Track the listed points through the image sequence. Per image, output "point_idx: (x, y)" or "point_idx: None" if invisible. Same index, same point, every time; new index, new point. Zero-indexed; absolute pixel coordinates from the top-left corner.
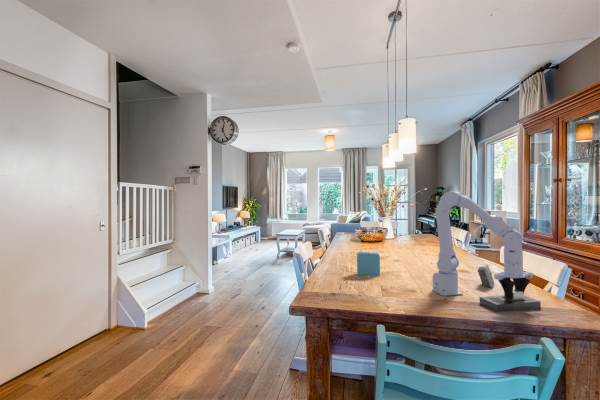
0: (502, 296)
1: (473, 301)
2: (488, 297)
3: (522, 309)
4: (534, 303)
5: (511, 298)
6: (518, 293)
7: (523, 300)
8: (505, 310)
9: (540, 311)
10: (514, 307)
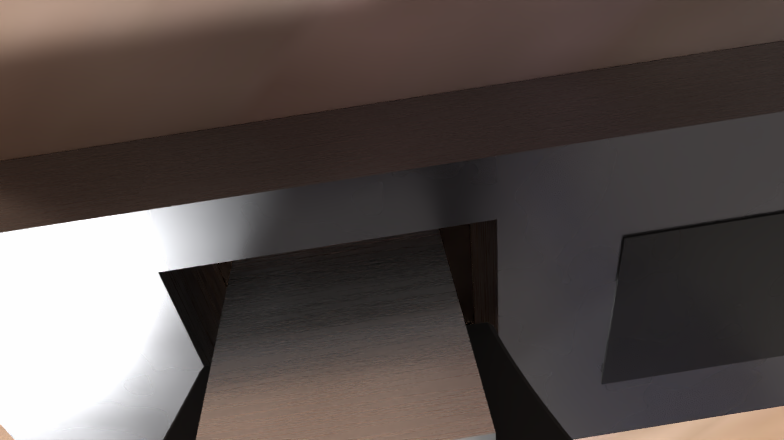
0: None
1: None
2: (730, 389)
3: (346, 109)
4: (35, 207)
5: None
6: (332, 422)
7: (192, 322)
8: (722, 53)
9: (29, 13)
10: (539, 101)
